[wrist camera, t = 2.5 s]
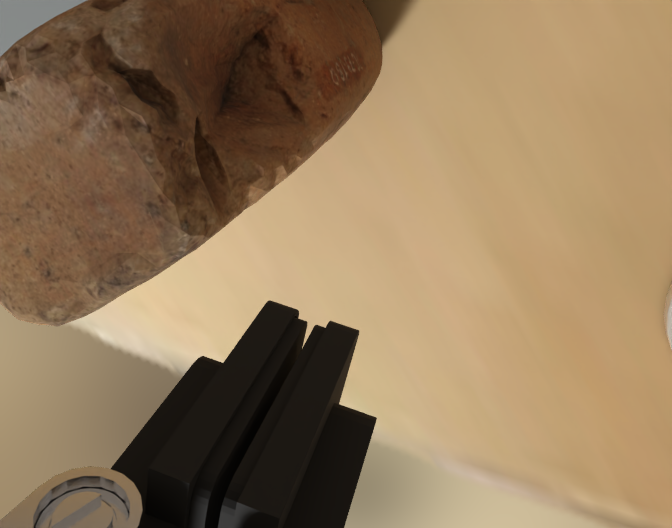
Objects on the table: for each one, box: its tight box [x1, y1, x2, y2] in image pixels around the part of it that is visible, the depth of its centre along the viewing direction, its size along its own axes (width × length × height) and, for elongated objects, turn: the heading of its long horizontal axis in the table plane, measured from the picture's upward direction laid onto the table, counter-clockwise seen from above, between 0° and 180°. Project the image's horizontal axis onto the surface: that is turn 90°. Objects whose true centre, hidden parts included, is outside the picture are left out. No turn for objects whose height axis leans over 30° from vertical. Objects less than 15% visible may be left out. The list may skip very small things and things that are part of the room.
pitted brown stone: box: [0, 0, 382, 326], centre depth 23 cm, size 11×8×20 cm
